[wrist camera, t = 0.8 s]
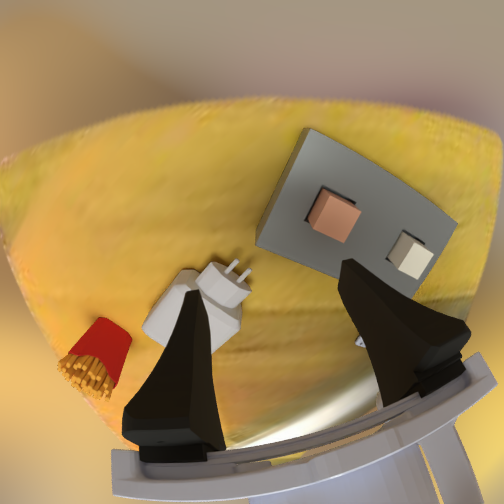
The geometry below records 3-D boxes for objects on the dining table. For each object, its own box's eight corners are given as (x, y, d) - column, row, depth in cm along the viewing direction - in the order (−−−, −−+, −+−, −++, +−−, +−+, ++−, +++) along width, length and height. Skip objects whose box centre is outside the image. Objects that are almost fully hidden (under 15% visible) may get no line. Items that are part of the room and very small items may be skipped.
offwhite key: (420, 242, 26) (433, 254, 23) (405, 266, 27) (417, 279, 24) (401, 230, 25) (414, 242, 23) (386, 255, 27) (397, 269, 24)
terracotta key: (351, 202, 24) (361, 211, 22) (335, 230, 26) (343, 243, 23) (322, 187, 24) (330, 195, 21) (307, 217, 25) (312, 228, 23)
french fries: (139, 339, 38) (111, 399, 27) (131, 351, 39) (105, 408, 28) (94, 308, 36) (55, 362, 25) (88, 322, 37) (53, 374, 26)
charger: (275, 276, 32) (204, 343, 38) (213, 229, 30) (150, 308, 35) (277, 300, 28) (199, 367, 33) (205, 247, 26) (139, 330, 31)
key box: (440, 212, 28) (457, 223, 24) (393, 289, 33) (405, 306, 29) (303, 128, 25) (310, 128, 21) (255, 230, 30) (255, 245, 26)
